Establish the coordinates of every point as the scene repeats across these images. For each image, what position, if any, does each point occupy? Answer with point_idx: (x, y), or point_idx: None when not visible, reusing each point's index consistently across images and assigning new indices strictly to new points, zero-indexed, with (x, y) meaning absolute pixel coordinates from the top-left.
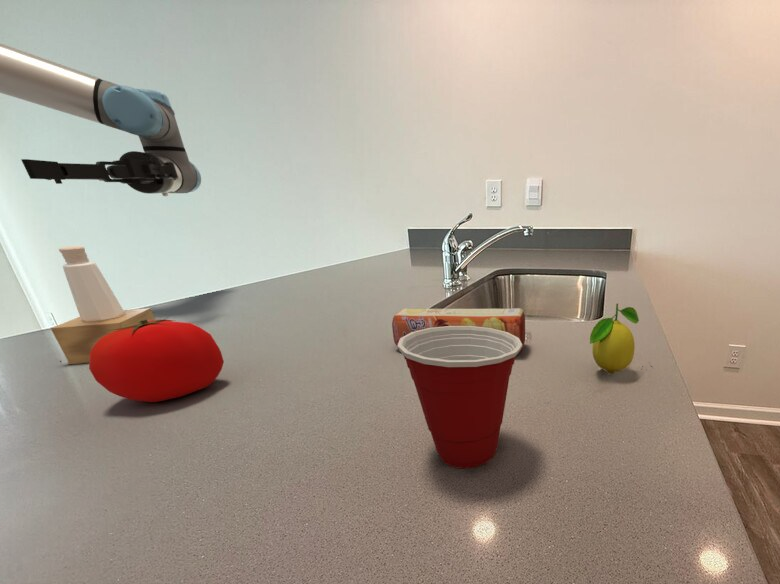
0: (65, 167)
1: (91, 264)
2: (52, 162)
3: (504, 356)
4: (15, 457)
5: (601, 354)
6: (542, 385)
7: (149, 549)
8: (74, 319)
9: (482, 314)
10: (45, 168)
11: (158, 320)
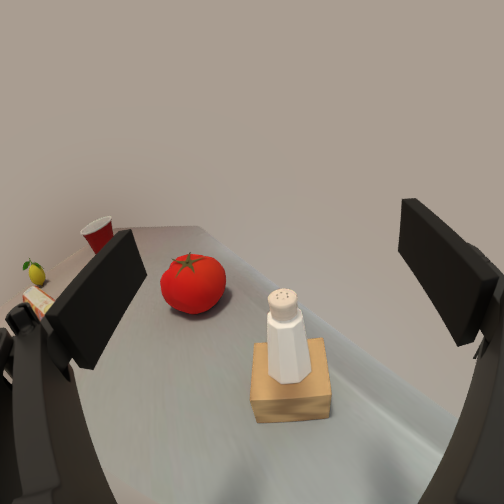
0: (496, 333)
1: (267, 316)
2: (463, 262)
3: (95, 220)
4: (249, 266)
5: (43, 272)
6: (62, 282)
7: (186, 240)
8: (324, 365)
9: (38, 291)
10: (427, 253)
11: (181, 267)
